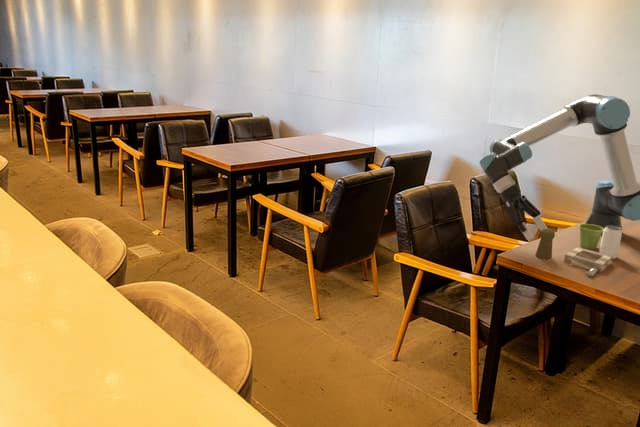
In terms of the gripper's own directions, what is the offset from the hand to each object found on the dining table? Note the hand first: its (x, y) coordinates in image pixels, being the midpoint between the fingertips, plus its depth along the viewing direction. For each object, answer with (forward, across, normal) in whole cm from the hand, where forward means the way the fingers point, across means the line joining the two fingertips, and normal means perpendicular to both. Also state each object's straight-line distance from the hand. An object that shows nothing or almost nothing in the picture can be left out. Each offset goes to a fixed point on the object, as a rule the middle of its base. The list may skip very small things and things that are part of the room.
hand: (538, 234), depth 207 cm
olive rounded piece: (+8, -1, -4) cm, 9 cm away
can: (+20, -22, +8) cm, 31 cm away
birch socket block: (+18, -8, +6) cm, 21 cm away
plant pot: (+14, -27, +2) cm, 30 cm away
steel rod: (+22, +1, +10) cm, 24 cm away
